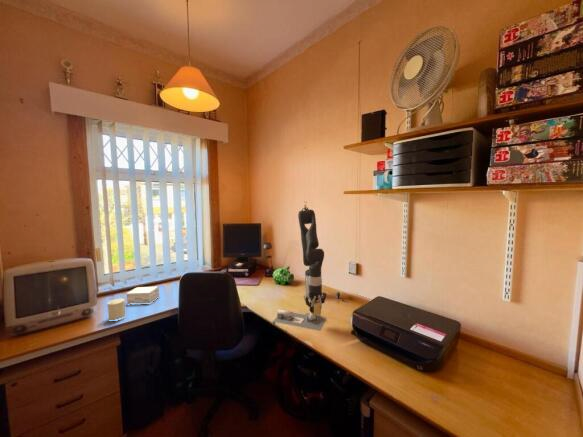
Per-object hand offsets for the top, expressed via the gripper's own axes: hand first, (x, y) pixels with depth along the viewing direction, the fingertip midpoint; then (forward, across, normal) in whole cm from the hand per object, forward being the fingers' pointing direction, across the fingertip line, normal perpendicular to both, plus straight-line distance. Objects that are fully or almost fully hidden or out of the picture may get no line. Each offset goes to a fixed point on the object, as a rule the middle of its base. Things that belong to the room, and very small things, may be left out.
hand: (315, 311), depth 140 cm
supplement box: (+11, +100, -89) cm, 134 cm away
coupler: (+1, 0, 0) cm, 1 cm away
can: (+10, +111, -64) cm, 129 cm away
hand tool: (+11, -22, +11) cm, 27 cm away
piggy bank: (+12, -10, -79) cm, 80 cm away
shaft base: (+10, +5, -10) cm, 16 cm away
